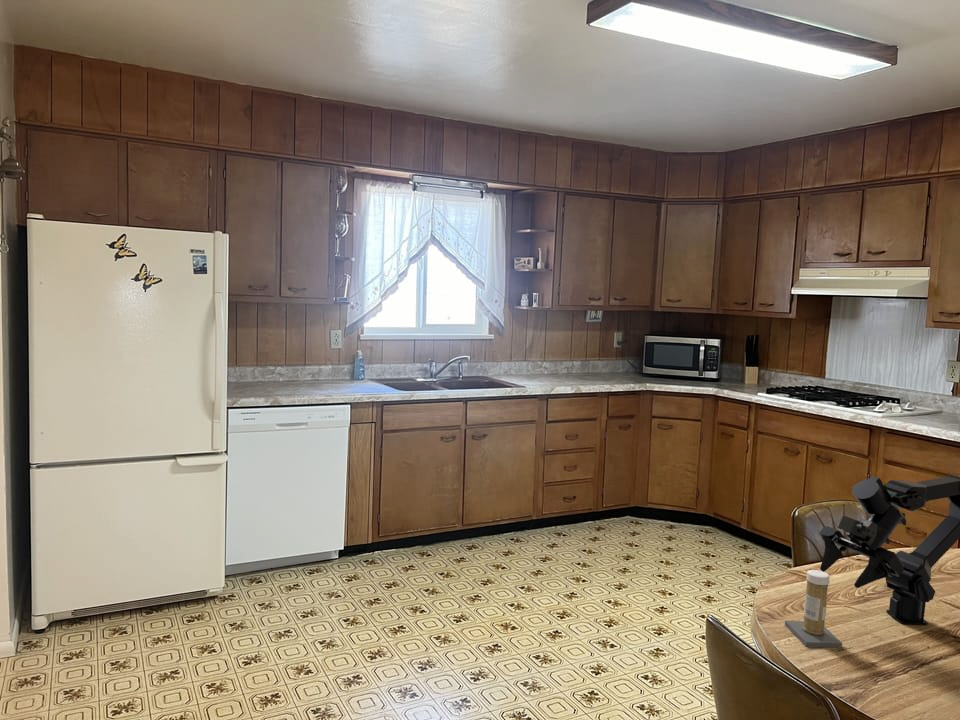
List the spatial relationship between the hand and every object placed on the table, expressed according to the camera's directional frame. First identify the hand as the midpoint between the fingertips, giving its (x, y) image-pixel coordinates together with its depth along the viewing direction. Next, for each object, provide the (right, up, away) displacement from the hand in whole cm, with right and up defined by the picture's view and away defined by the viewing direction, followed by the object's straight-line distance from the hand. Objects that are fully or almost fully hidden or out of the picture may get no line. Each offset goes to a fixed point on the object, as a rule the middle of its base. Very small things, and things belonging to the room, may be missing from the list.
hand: (838, 578), depth 161 cm
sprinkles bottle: (-6, -12, -1) cm, 13 cm away
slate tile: (-6, -12, -1) cm, 14 cm away
